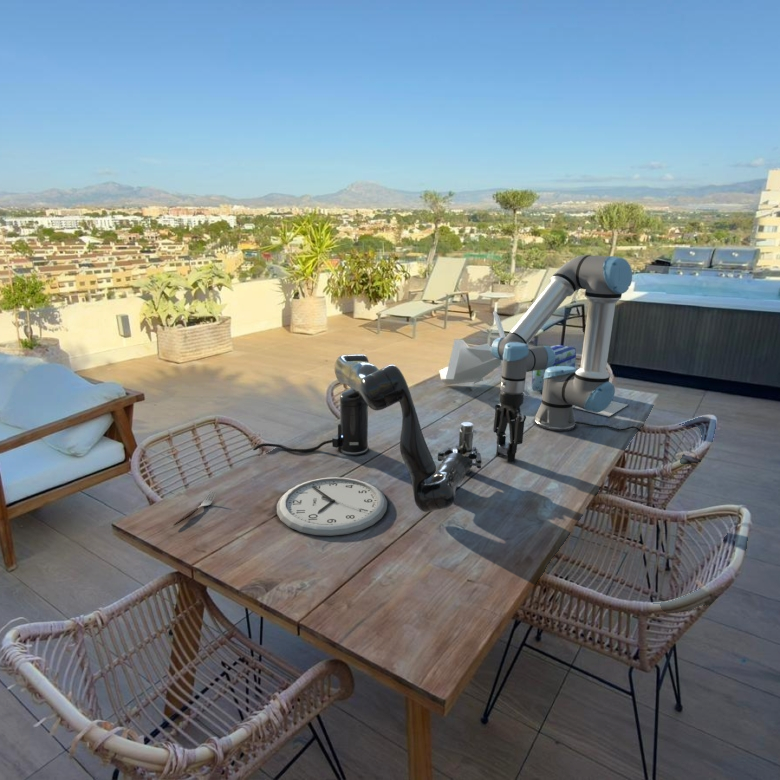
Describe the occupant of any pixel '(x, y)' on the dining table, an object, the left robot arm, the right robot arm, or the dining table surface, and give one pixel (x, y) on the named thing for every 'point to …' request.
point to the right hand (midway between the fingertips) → (505, 457)
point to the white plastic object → (472, 361)
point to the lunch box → (555, 364)
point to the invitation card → (609, 408)
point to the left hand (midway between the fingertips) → (467, 448)
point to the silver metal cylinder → (465, 439)
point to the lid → (503, 447)
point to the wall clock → (331, 506)
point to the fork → (204, 503)
